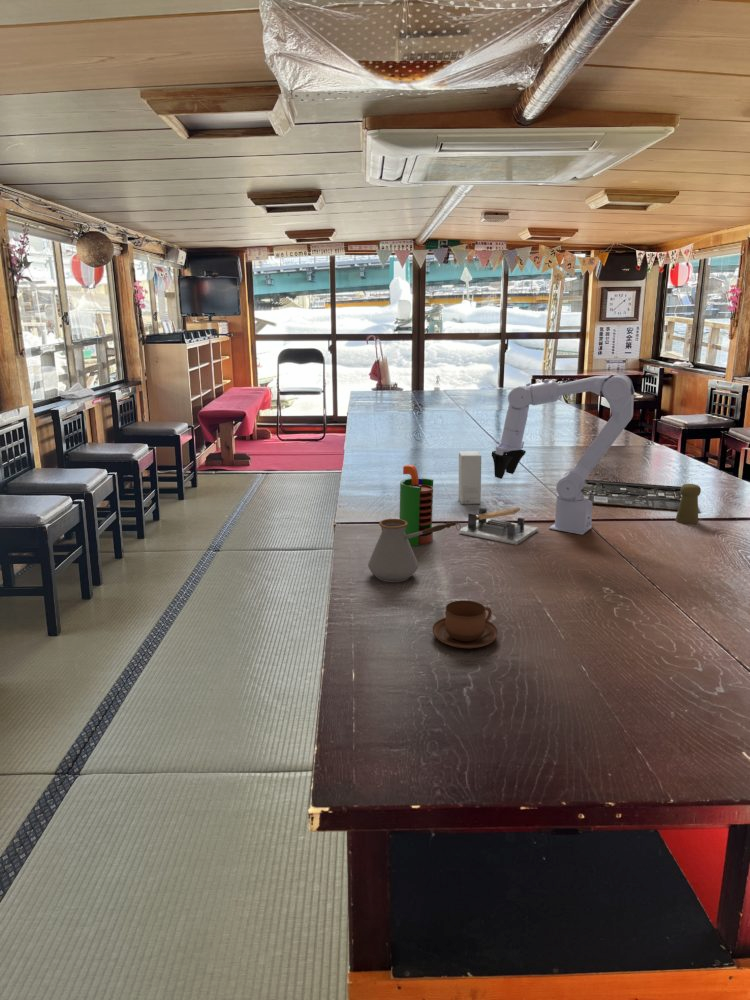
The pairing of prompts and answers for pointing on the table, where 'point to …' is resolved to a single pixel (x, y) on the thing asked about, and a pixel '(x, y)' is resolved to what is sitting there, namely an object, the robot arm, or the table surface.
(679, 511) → the cork
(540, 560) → the table surface
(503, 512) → the wooden board
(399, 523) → the coffee pot
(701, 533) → the table surface
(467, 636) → the cup and saucer
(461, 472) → the skincare box
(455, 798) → the table surface
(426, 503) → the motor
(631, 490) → the laptop interior
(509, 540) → the wooden bar fixture
